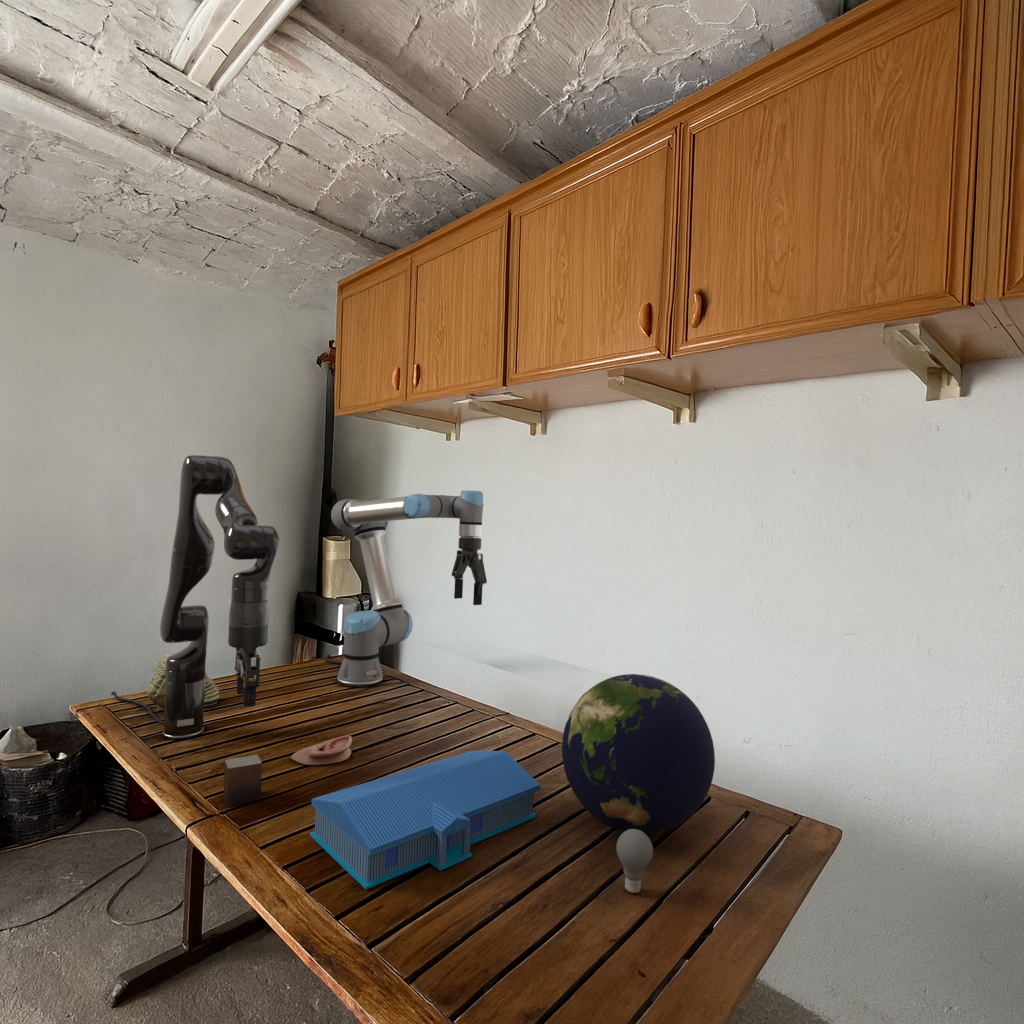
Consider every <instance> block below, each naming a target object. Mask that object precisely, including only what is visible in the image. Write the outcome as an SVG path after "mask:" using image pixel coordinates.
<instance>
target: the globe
mask: <svg viewBox="0 0 1024 1024" xmlns="http://www.w3.org/2000/svg"><path fill="white" fill-rule="evenodd" d="M715 754H716V753H715V746H714V740H713V737H712V733H711V730H710V727H709V726H708V723H707V721H706V719H705V717H704V715H703V714H702V712H701V710H700V709H699V707H698V706H697V705H696V703H694V701H693V700H692V699H691V698H690V697H689V696H688V695H687V694H686V693H685V692H683V691H682V690H681V689H679V688H678V687H676V686H675V685H674V684H672V683H670V682H668V681H666V680H664V679H661V678H658V677H656V676H652V675H647V674H643V673H627V674H619V675H615V676H611V677H608V678H606V679H604V680H602V681H600V682H597V683H596V684H595V685H593V686H592V687H590V688H589V689H588V690H587V691H585V692H584V693H583V694H582V695H581V696H580V697H579V699H578V700H577V701H576V703H575V704H574V705H573V707H572V709H571V710H570V713H569V715H568V717H567V720H566V722H565V725H564V729H563V733H562V742H561V758H562V764H563V769H564V773H565V776H566V779H567V782H568V784H569V787H570V788H571V790H572V792H573V794H574V795H575V797H576V799H577V800H578V801H579V802H580V804H581V805H582V806H583V808H584V809H585V810H586V811H587V812H589V813H590V815H592V816H593V817H594V818H596V820H598V821H600V822H601V823H602V824H604V825H605V826H607V827H609V828H612V829H614V830H616V831H619V832H622V833H623V832H625V831H627V830H629V829H637V830H640V831H642V832H644V833H645V834H646V835H647V836H649V835H657V834H661V833H664V832H668V831H671V830H673V829H675V828H677V827H678V826H680V825H682V824H684V823H685V822H686V821H688V820H689V819H690V818H691V817H692V816H693V815H694V814H695V813H696V812H697V811H698V810H699V808H700V807H701V806H702V804H703V803H704V801H705V800H706V797H707V796H708V794H709V791H710V789H711V785H712V783H713V779H714V773H715V767H716V755H715Z"/></svg>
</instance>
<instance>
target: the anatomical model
mask: <svg viewBox="0 0 1024 1024" xmlns="http://www.w3.org/2000/svg"><path fill="white" fill-rule="evenodd" d="M352 743H353V737H352V735H343V736H339V737H335V738H332V739H329V740H326V741H323V742H321V743H318V744H315V745H311V746H308V747H304V748H302V749H300V750H298V751H295V752H294V753H293V754H292V755H291V756H290V758H291V760H293V761H294V762H297V763H299V764H302V765H306V766H319V765H330V764H337V763H340V762H343V761H345V760H347V759H349V758H350V756H351V755H352V750H351V748H350V747H351V745H352Z"/></svg>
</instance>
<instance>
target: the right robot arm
mask: <svg viewBox="0 0 1024 1024" xmlns="http://www.w3.org/2000/svg"><path fill="white" fill-rule="evenodd" d="M330 512H331V513H330V519H331V521H332V523H333V524H334V526H335V527H336V528H337V529H339V530H341V531H343V532H353V536H354V539H355V540H356V541H358V542H359V543H360V549H361V553H362V558H363V563H364V567H365V572H366V577H367V583H368V587H369V593H370V595H371V596H370V597H371V601H372V607H371V609H370V610H368V609H367V610H360V611H359V610H358V611H355V612H351V613H349V615H347V616H346V618H345V620H344V627H343V633H344V634H343V659H342V661H339V660H338V661H337V660H330V658H331V654H330V653H328V654H326V656H325V657H324V660H325V662H326V663H328V664H335V665H340V668H339V671H338V673H337V677H336V682H337V683H338V684H339V686H343V687H349V688H367V687H374V686H377V685H380V684H381V683H383V681H384V674H383V670H382V667H381V663H380V659H379V649H380V648H381V647H387V646H391V645H397V644H400V643H401V642H404V641H406V640H408V639H409V637H410V634H411V633H412V631H413V625H414V623H413V618H412V617H413V616H412V615H411V614H410V613H409V612H408V610H406V609H404V607H403V603H402V602H400V601H399V600H398V599H397V594H396V589H395V585H394V580H393V577H392V572H391V567H390V566H391V565H390V563H389V558H388V552H387V548H386V543H385V535H386V533H387V527H388V526H389V524H390V523H389V522H392V521H403V520H415V519H416V520H417V519H427V518H428V519H430V518H432V519H459V525H458V536H459V538H458V550H456V556H455V561H454V564H453V568H452V571H451V577H453V579H454V592H453V593H454V595H453V598H454V599H463V594H464V593H463V591H464V589H463V588H464V574H465V572H466V570H467V568H470V571H471V573H472V577H473V580H474V583H473V601H472V605H473V606H482V605H483V585H485V584H488V583H487V582H488V580H487V575H486V570H485V565H484V564H485V563H484V554H483V553H478V551H479V550H481V549H482V538H481V537H483V536H482V534H483V530H484V529H483V515H484V493H483V492H482V491H481V490H465V489H464V490H461V491H460V495H446V494H439V495H438V494H424V493H423V494H422V493H414V494H410V495H405V496H399V497H390V498H381V499H371V498H370V499H369V498H368V499H359V498H357V499H356V498H355V499H353V498H346V499H341V500H339V501H337V502H336V503H335V504H334V505H333V507H332V509H331V511H330Z"/></svg>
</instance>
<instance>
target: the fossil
mask: <svg viewBox="0 0 1024 1024" xmlns="http://www.w3.org/2000/svg"><path fill="white" fill-rule="evenodd" d="M171 655H172V654H165V655H164V656H163V657H162V658H161V659H160V660H159V662H158V663H157V666H156V667H155V669H154V670H153V672H152V675H151V677H150V680H149V684H148V688H147V697H148V699H149V700H150V701H152V703H153V704H154V706H155V711H158V712H159V711H162V712H163V711H164V705H165V674H166V660H167V658H168V657H169V656H171ZM220 698H221V696H220V690H219V688H218V686H217V685H216V683H215V682H214V681H213V679H212V678H211V677H209V675H208V674H207V672H206V671H205V693H204V707H207V706H213V705H215V704H217V703H218V701H219V699H220Z"/></svg>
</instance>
